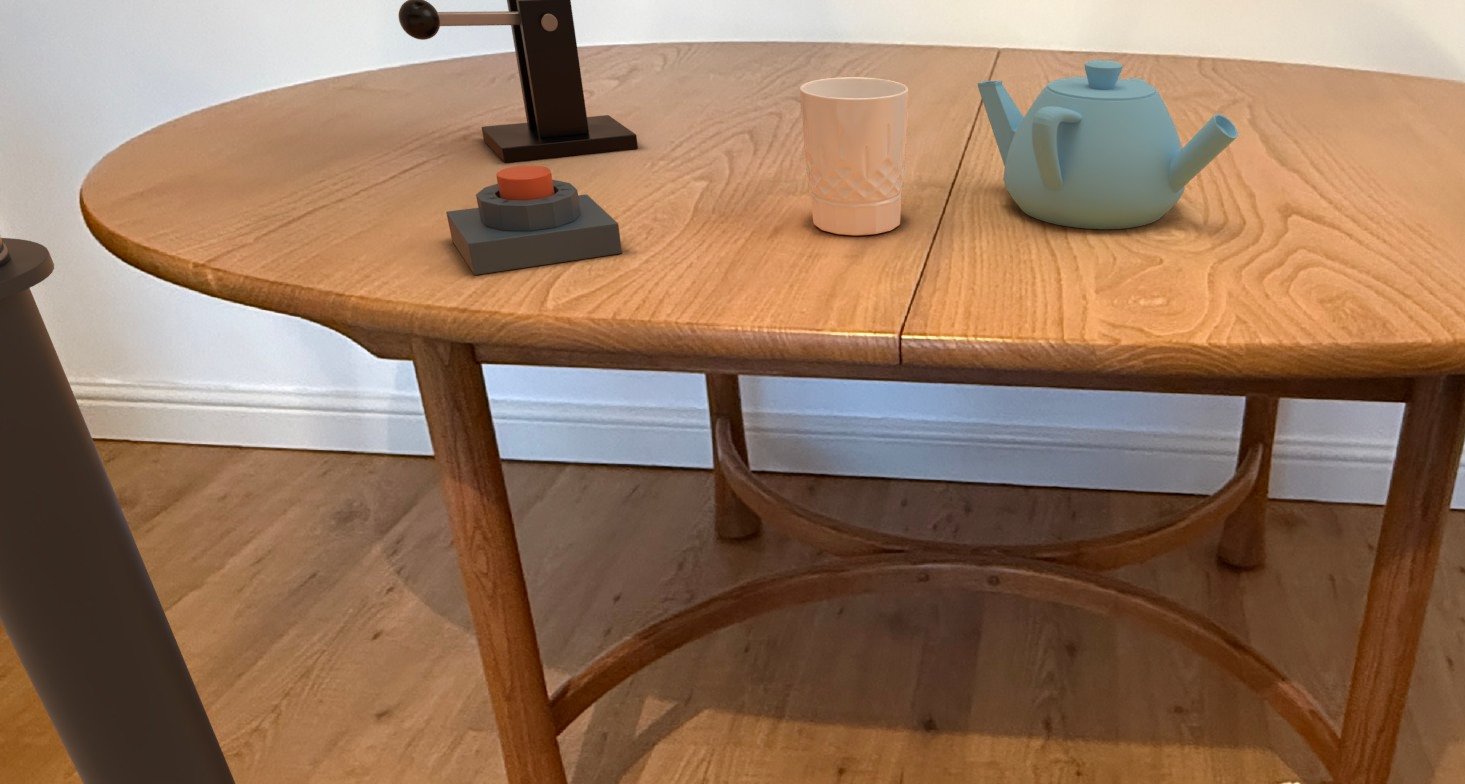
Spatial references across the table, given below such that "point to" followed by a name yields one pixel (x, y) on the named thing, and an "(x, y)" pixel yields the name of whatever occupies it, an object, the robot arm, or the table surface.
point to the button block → (532, 230)
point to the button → (525, 183)
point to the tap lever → (446, 19)
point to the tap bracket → (552, 92)
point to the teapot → (1098, 149)
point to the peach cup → (855, 152)
